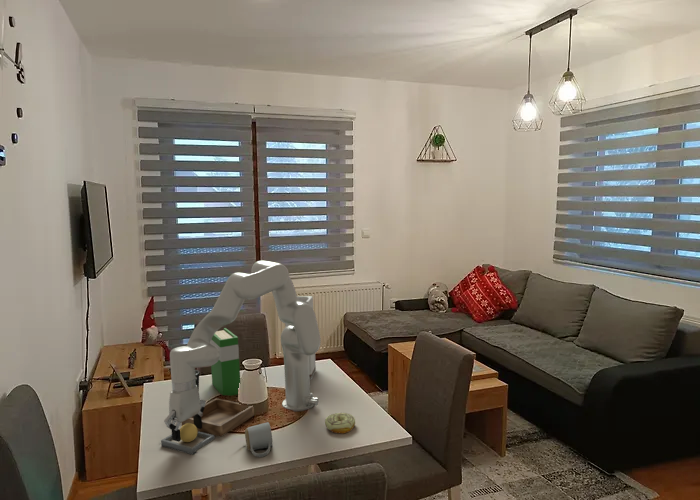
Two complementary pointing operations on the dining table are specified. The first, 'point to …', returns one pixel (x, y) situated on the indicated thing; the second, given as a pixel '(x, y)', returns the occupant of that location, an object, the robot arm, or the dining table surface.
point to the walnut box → (222, 417)
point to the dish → (184, 448)
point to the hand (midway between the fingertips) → (187, 434)
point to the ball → (188, 432)
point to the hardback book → (226, 363)
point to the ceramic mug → (259, 438)
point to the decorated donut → (340, 422)
